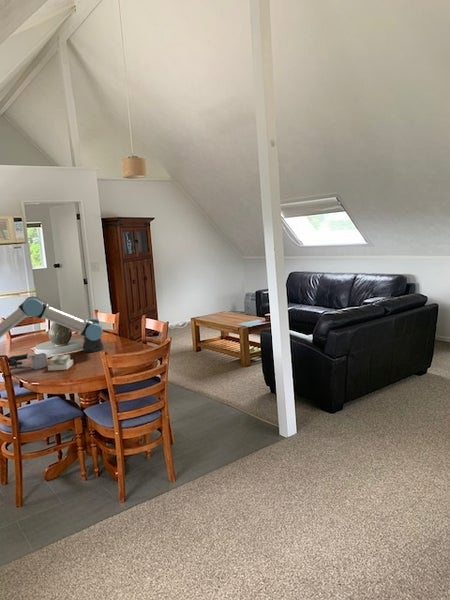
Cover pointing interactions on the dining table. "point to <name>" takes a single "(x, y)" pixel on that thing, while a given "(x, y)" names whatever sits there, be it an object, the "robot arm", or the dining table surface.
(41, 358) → the medicine box
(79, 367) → the dining table surface
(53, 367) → the tower base slab
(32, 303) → the robot arm
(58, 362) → the tower top slab
